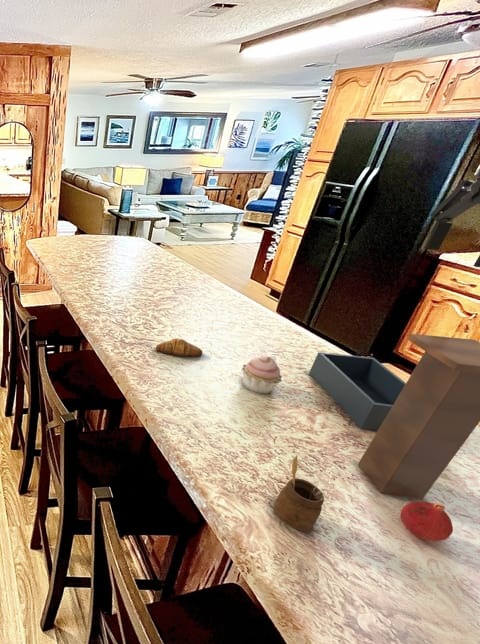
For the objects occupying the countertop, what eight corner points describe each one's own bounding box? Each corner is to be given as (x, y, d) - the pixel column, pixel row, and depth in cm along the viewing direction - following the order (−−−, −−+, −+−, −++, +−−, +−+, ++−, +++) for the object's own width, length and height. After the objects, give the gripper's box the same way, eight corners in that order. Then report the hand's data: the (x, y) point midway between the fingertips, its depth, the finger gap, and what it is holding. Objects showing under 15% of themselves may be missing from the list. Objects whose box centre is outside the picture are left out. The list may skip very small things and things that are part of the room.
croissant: (197, 350, 120) (201, 336, 118) (204, 362, 114) (208, 347, 112) (152, 345, 122) (156, 331, 120) (157, 357, 116) (160, 342, 114)
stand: (341, 455, 83) (409, 333, 69) (394, 462, 81) (474, 339, 68) (372, 495, 74) (458, 363, 60) (433, 504, 72) (534, 371, 59)
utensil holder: (304, 539, 65) (333, 490, 60) (264, 512, 70) (287, 464, 65) (317, 521, 69) (345, 473, 63) (278, 495, 73) (301, 449, 68)
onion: (403, 544, 65) (427, 513, 61) (385, 515, 70) (406, 484, 66) (447, 556, 63) (474, 524, 60) (425, 525, 68) (449, 494, 65)
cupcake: (230, 385, 104) (241, 354, 100) (244, 373, 110) (255, 343, 105) (269, 403, 98) (282, 370, 93) (281, 389, 103) (295, 357, 99)
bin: (308, 374, 110) (318, 352, 106) (361, 380, 108) (373, 357, 104) (359, 429, 90) (374, 404, 86) (426, 438, 88) (444, 412, 84)
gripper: (439, 154, 92) (396, 241, 101) (554, 164, 69) (486, 274, 79) (476, 155, 90) (429, 243, 100) (605, 165, 68) (530, 277, 78)
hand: (454, 257), depth 89 cm, fingers open, 13 cm apart
